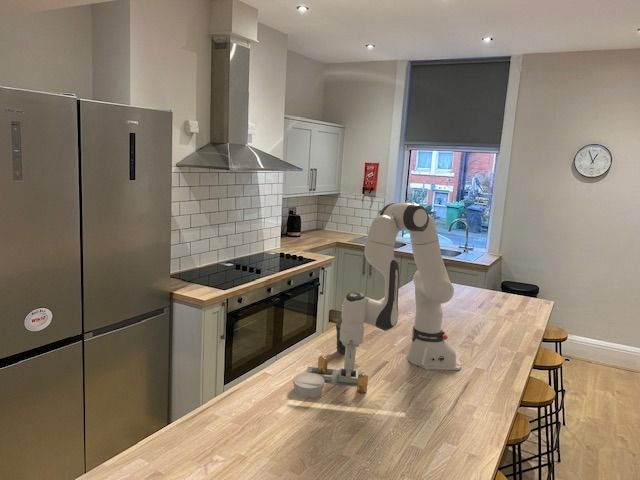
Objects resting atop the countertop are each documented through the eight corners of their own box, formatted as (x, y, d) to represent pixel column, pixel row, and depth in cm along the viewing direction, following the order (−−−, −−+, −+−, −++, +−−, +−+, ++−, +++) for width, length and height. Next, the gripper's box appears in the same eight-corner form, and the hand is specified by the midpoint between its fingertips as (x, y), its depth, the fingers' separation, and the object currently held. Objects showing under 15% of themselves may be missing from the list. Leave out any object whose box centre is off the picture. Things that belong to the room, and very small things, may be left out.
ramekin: (300, 404, 159) (301, 390, 158) (287, 389, 169) (287, 375, 168) (329, 398, 164) (330, 384, 163) (314, 383, 174) (315, 370, 173)
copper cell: (366, 392, 170) (368, 372, 169) (366, 397, 167) (368, 377, 165) (356, 391, 171) (358, 371, 169) (356, 396, 167) (358, 376, 166)
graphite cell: (353, 376, 179) (354, 357, 178) (352, 380, 176) (354, 361, 174) (343, 375, 179) (345, 356, 178) (343, 379, 176) (345, 360, 175)
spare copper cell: (326, 373, 180) (328, 355, 178) (326, 377, 176) (327, 359, 175) (317, 372, 180) (319, 354, 179) (316, 376, 177) (318, 358, 175)
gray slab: (363, 375, 183) (364, 367, 183) (364, 390, 172) (364, 382, 171) (307, 369, 185) (308, 361, 184) (304, 384, 173) (304, 375, 172)
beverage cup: (349, 356, 199) (353, 311, 196) (332, 354, 201) (336, 309, 197) (351, 350, 206) (355, 306, 203) (335, 347, 208) (338, 304, 204)
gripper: (360, 348, 164) (356, 384, 167) (359, 327, 184) (356, 360, 187) (342, 346, 165) (338, 382, 167) (343, 325, 185) (340, 358, 187)
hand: (348, 370), depth 177 cm, fingers open, 8 cm apart
